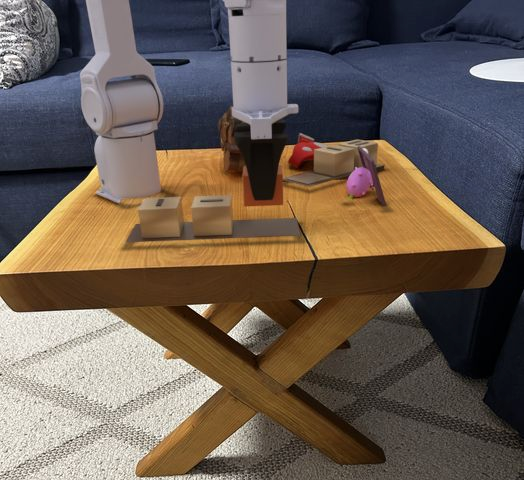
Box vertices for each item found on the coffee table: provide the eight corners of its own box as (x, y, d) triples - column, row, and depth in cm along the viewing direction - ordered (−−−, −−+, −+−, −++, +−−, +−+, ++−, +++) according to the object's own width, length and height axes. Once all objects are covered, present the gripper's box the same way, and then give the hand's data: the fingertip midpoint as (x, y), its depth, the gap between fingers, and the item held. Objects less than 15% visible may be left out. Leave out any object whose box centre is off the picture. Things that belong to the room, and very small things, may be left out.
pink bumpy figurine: (379, 158, 68) (364, 143, 76) (339, 174, 69) (328, 158, 77) (393, 208, 72) (377, 189, 80) (354, 223, 73) (343, 202, 80)
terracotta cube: (244, 206, 63) (242, 175, 61) (244, 195, 66) (243, 165, 65) (283, 205, 63) (282, 173, 61) (281, 194, 66) (281, 163, 65)
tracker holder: (357, 155, 94) (320, 151, 87) (347, 181, 96) (310, 178, 89) (307, 130, 100) (269, 124, 93) (299, 154, 103) (261, 150, 96)
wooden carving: (213, 161, 100) (208, 100, 94) (238, 159, 100) (234, 98, 95) (229, 184, 86) (225, 115, 81) (258, 181, 87) (255, 112, 81)
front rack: (126, 248, 64) (119, 212, 62) (136, 229, 69) (130, 195, 67) (300, 242, 64) (300, 204, 62) (296, 223, 69) (296, 188, 67)
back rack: (309, 192, 81) (309, 161, 79) (279, 184, 85) (278, 155, 83) (384, 170, 90) (386, 142, 88) (354, 163, 94) (355, 137, 92)
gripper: (302, 64, 51) (302, 211, 58) (293, 53, 63) (294, 175, 70) (225, 67, 51) (234, 213, 58) (231, 56, 63) (238, 177, 70)
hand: (263, 193), depth 64 cm, fingers closed on terracotta cube, 4 cm apart
